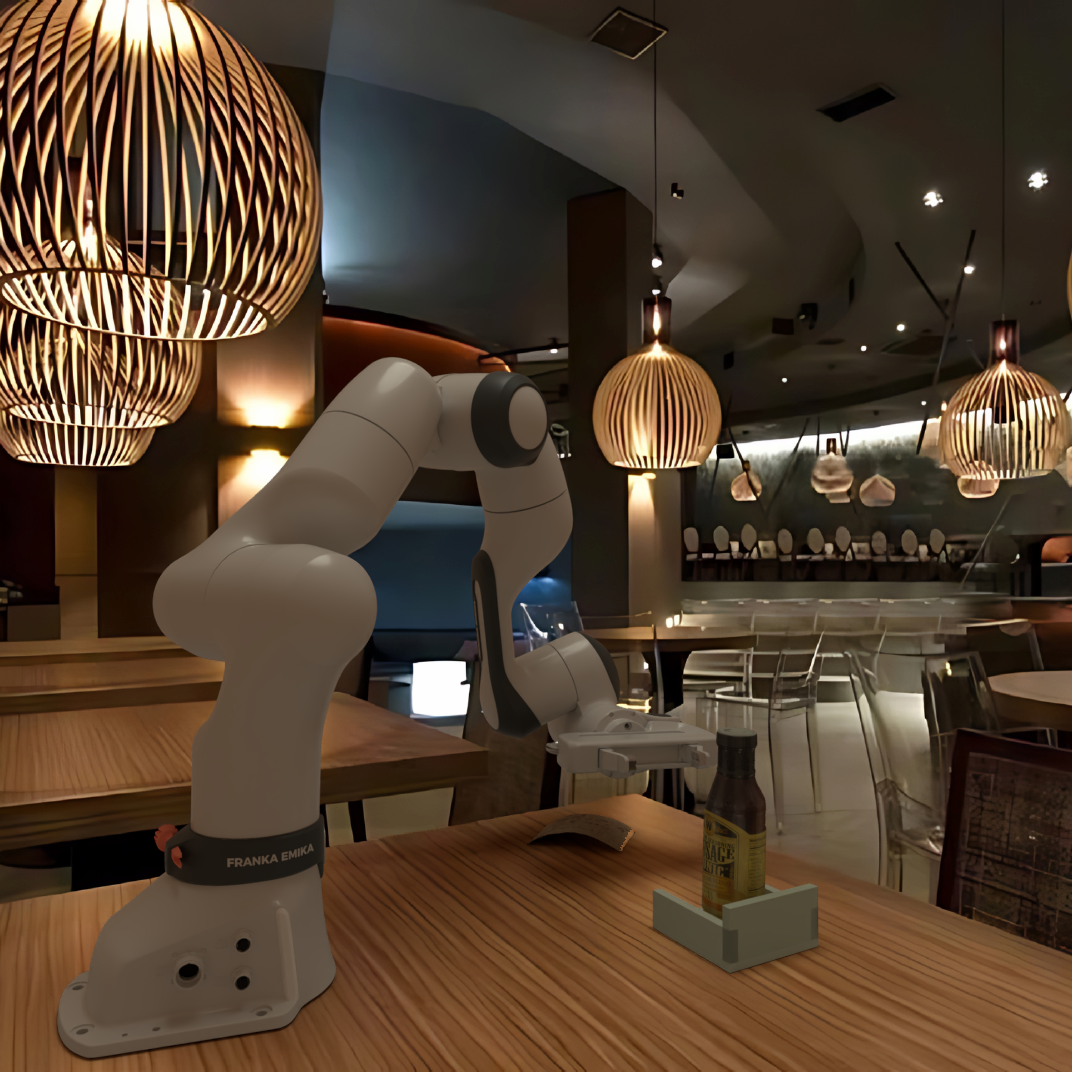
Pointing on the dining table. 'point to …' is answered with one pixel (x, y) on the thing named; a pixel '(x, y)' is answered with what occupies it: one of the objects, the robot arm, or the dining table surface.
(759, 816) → the sauce bottle
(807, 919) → the caddy
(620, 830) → the grey curved piece
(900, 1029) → the dining table surface
